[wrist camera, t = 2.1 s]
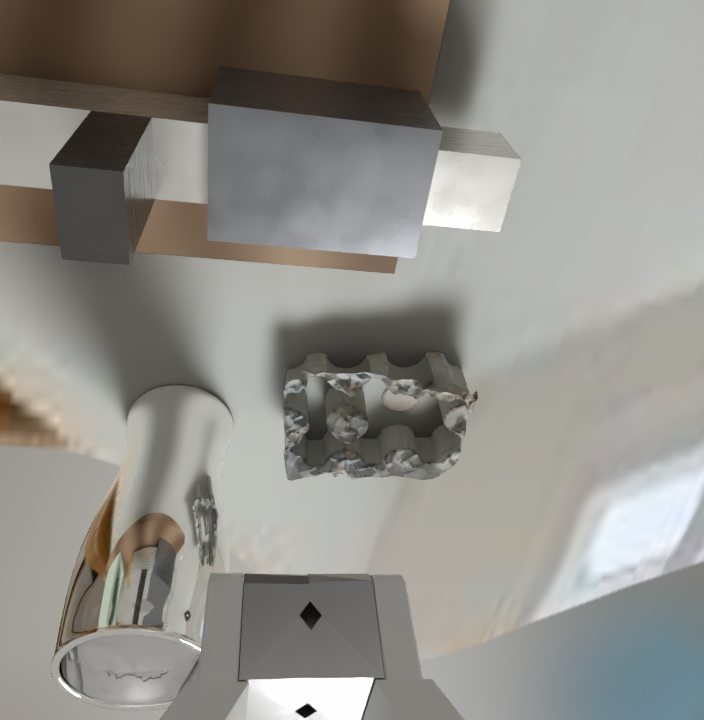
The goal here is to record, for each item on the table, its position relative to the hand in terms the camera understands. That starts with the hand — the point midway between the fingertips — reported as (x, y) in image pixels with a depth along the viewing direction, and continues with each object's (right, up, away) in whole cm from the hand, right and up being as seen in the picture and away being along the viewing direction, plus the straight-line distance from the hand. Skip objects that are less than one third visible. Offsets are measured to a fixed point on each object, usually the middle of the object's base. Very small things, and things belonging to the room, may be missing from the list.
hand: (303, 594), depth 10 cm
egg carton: (+2, +2, +29) cm, 29 cm away
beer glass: (-9, 0, +28) cm, 30 cm away
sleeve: (-1, +13, +17) cm, 22 cm away
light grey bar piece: (-4, +13, +16) cm, 21 cm away
